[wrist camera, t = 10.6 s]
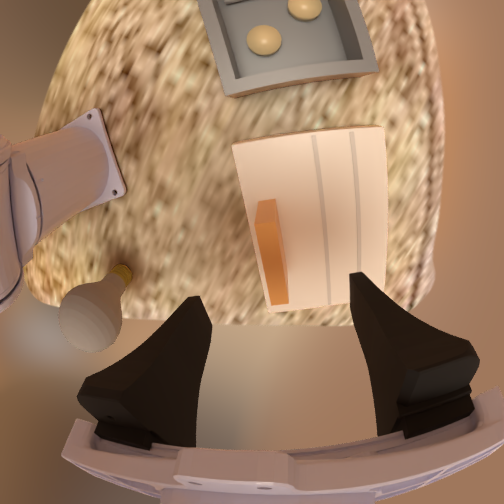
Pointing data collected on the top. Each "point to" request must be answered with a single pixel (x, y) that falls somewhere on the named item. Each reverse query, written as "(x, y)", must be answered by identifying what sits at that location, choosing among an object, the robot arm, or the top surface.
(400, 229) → the top surface
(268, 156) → the lid
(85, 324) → the light bulb
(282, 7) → the tub
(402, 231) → the top surface
